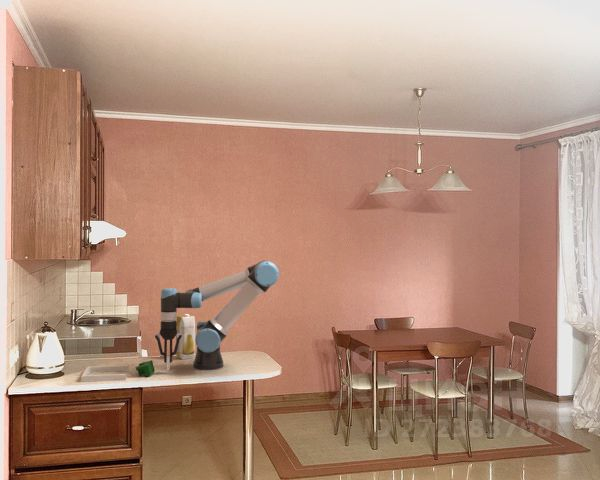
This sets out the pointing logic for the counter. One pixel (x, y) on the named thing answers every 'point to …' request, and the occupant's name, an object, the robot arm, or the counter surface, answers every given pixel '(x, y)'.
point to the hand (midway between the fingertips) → (168, 369)
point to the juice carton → (186, 336)
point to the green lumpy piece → (145, 368)
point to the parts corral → (88, 378)
